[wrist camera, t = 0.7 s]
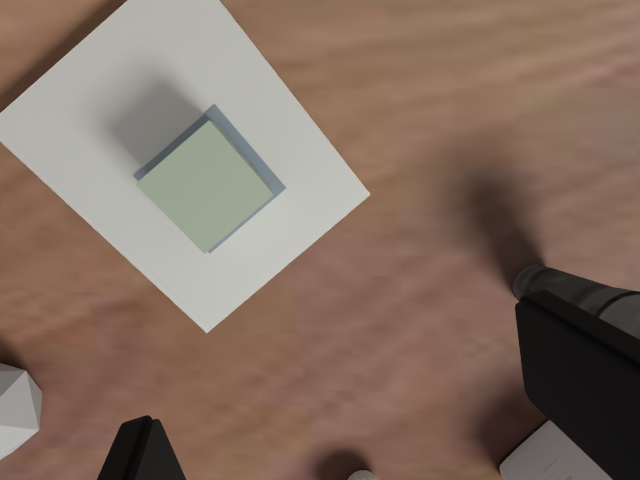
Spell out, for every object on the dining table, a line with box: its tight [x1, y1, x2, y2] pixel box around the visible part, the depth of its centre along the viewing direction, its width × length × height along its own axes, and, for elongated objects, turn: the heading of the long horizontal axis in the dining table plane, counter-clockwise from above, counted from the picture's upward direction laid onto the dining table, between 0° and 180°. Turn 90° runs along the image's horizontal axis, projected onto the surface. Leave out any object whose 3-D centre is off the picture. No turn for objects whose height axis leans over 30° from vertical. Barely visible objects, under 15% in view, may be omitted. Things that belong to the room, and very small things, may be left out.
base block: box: [135, 120, 274, 254], centre depth 32 cm, size 7×7×5 cm
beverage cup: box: [513, 264, 640, 339], centre depth 35 cm, size 7×7×20 cm
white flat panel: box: [0, 0, 370, 333], centre depth 35 cm, size 20×24×1 cm
